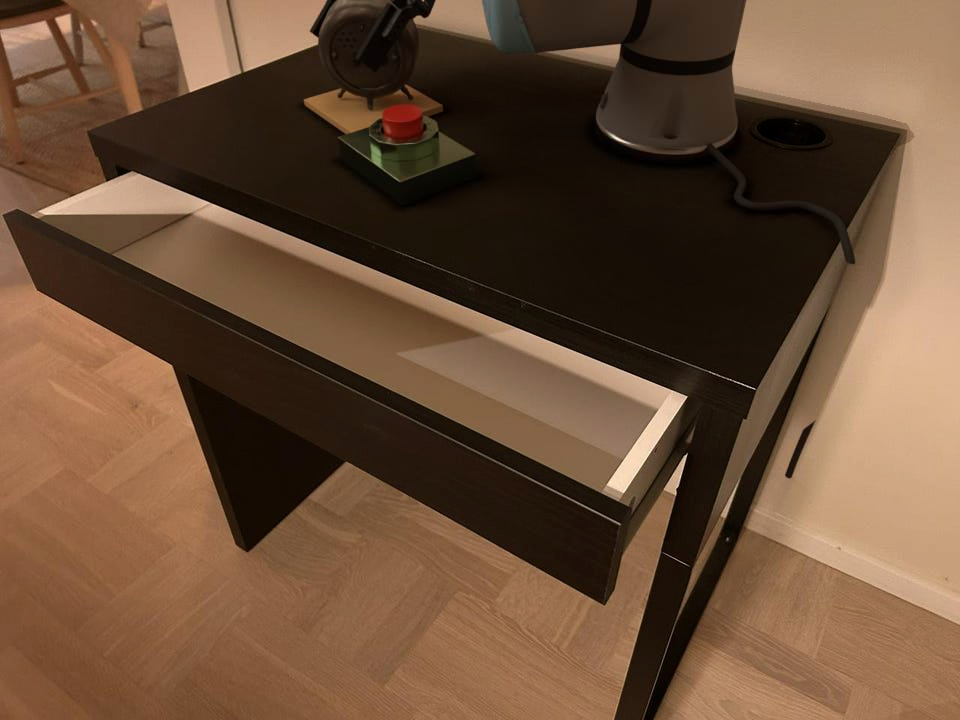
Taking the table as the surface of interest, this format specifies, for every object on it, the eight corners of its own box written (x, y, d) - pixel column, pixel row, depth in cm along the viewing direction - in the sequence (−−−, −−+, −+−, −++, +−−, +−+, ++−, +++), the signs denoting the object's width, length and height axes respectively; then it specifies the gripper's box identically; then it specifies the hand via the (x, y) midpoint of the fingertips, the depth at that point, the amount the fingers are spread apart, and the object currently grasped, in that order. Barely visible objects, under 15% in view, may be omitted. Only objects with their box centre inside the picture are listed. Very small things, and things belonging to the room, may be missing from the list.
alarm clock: (423, 94, 90) (412, -56, 79) (417, 113, 86) (405, -41, 75) (333, 93, 91) (311, -56, 80) (324, 112, 87) (298, -41, 76)
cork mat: (443, 111, 88) (442, 105, 88) (355, 141, 83) (354, 134, 82) (389, 80, 95) (388, 74, 95) (304, 105, 90) (303, 99, 90)
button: (431, 133, 75) (430, 114, 74) (397, 145, 73) (396, 125, 72) (409, 120, 77) (408, 100, 76) (376, 131, 76) (374, 111, 74)
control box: (476, 177, 76) (475, 136, 73) (402, 206, 73) (398, 164, 69) (411, 136, 84) (408, 97, 81) (341, 160, 80) (334, 120, 77)
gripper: (373, -175, 83) (270, 6, 86) (497, -150, 70) (370, 62, 73) (416, -125, 89) (319, 42, 92) (538, -93, 75) (419, 101, 79)
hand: (341, 51), depth 83 cm, fingers closed on alarm clock, 9 cm apart
